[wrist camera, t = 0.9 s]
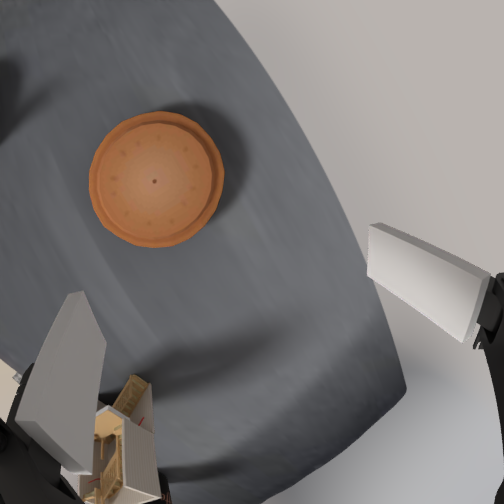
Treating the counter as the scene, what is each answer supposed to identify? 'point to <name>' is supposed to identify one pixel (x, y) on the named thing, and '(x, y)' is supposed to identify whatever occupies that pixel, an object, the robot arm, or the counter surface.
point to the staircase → (122, 449)
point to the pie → (156, 179)
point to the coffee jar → (162, 492)
